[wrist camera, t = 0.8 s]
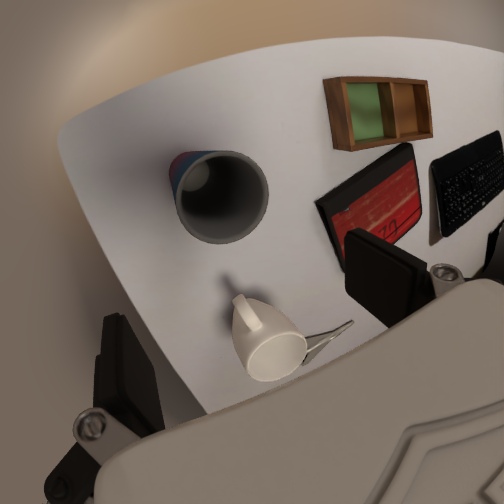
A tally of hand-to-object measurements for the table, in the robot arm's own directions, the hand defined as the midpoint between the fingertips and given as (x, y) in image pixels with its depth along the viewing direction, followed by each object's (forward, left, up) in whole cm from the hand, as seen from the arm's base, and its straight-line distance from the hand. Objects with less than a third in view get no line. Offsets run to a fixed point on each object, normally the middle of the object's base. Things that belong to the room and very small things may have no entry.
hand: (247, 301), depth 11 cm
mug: (+19, +4, -26) cm, 32 cm away
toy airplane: (+35, +14, -26) cm, 46 cm away
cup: (-1, +2, -26) cm, 26 cm away
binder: (+12, +30, -26) cm, 42 cm away
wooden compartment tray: (-5, +32, -26) cm, 41 cm away
